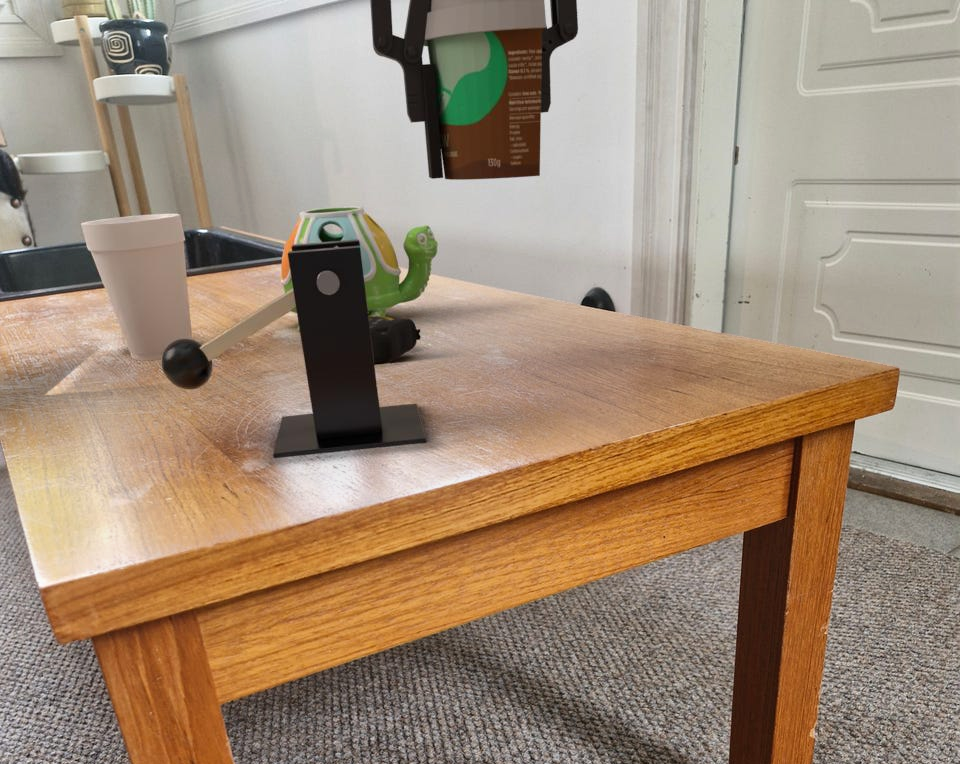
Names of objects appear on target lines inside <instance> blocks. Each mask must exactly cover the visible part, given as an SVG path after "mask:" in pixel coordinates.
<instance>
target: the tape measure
mask: <svg viewBox="0 0 960 764" xmlns="http://www.w3.org/2000/svg"><path fill="white" fill-rule="evenodd" d="M369 324H370V332H371V341H372V349H373V357H374V364H378V363H383V364H391V363H392V361H394V360H396V359H398V358H399V357H402V355H404V354H406V353H408V352H410V351H411V350H412V349H414V348H415V346H416V345H417V342H418V341H420V340H421V334H420V333H421V329H420V328H419V329H417V326H416V323H415V321H414V320H413V319H411V318H394V317H389V316H385V317H383V316H372V317H369Z"/></svg>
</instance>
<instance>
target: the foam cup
mask: <svg viewBox="0 0 960 764" xmlns="http://www.w3.org/2000/svg"><path fill="white" fill-rule="evenodd" d="M80 225H81V230H82V233H83V236H84V241H85V244H86V248H87V251H89V252H90V253H91V256H92V259H93V261H94V264H95V267H96V269H97V272H98V274H99V277H100V279H101V282H102V285H103V288H104V290H105V293H106V295H107V298H108V300H109V302H110V306H111V308H112V310H113V313H114V315H115V318H116V320H117V324H118V326H119V328H120V332H121V334H122V336H123V338H124V341H125V343H126V346H127V349H128V352H129V353H130V356H131V358H132V360H134V361H158V360H159V361H160V360H162V355H163V352H164V350H165V349H166V347H167V346H168V345H169V344H170V343H172V342H173V341H176V340H179V339H191V340H193V332H192V322H191V321H192V320H191V309H190V301H189V300H190V299H189V298H190V297H189V289H188V275H187V265H186V255H185V244H184V242H185V241H186V237H185V231H184V227H183V222H182V218H181V214H179V213H156V214H153V213H152V214H142V215H130V216H121V217H120V216H119V217H111V218H103V219H96V220H89V221H85V222H81V223H80Z"/></svg>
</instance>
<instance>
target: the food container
mask: <svg viewBox="0 0 960 764" xmlns="http://www.w3.org/2000/svg"><path fill="white" fill-rule="evenodd" d="M545 5H546V3H545V0H431V5H430V11H429V12H428V14H427V23H426V32H425V41H424V47H427V52H428V59H429V64H435V77H436V90H437V103H438V116H439V129H440V142H441V155H442V168H443V176H444V179H445V180H452V181H453V180H454V181H455V180H456V181H459V180H460V181H461V180H463V181H465V180H493V179H494V180H495V179H511V178H513V179H514V178H528V177H540V176H541V129H542V128H541V125H542V124H541V122H542V121H541V120H542V113H541V71H542V28H546V26H547V19H546V18H547V17H546V6H545Z"/></svg>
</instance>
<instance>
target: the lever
mask: <svg viewBox="0 0 960 764" xmlns="http://www.w3.org/2000/svg"><path fill="white" fill-rule="evenodd" d="M337 247H338V246H336V247H334V248H337ZM295 308H296V304H295V298H294V291H293V288H292V289H291V290H289V291H287V292H286V293H285V292H284V293H283V294H281V295H279V296H277V297H276V298H274V299H273V300H271V301H269V302H268V303H266V304H265V305H263V306H261V307H260V308H258V309H257V310H255V311H253V312H252V313H250V314H249V315H247V316H246V317H244V318H242V319H241V320H239V321H237V322H235V324H233V325H231V326H230V327H228V328H227V329H224V330H223V331H222V332H220V333H218V334H217V335H215V336H214V337H212V338H210V339H209V340H207V341H205V342H204V343H200V342H198V341H196V340H194V339H192V340H191V339H179V340H176V341H173V342H172V343H170V344H169V345H168V346H167V347H166V349H165V350H164V352H163V355H162V359H161V368H162V371H163V374H164V376H165V377H166V378H167V380H168V381H169V382H170V383H171V384H172V385H173V386H176V387H177V388H180V389H183V390H197V389H200V388H201V387H203V386H205V385H206V383H208V381H209V380H210V378H211V376H212V373H213V370H214V369H213V368H214V366H213V360H214V359H216V358H217V357H218V356H220V355H222V354H224V353H225V352H227V351H229V350H230V349H232V348H233V347H235V346H237V345H238V344H240V343H241V342H243V341H245V340H246V339H248V338H249V337H251V336H253V335H254V334H256V333H258V332H259V331H261V330H262V329H264V328H266V327H268V326H269V325H271V324H273V323H274V322H275V321H277V320H279V319H281V318H282V317H283V316H285V315H287V314H288V313H290V312H291V310H293V309H295Z"/></svg>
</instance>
